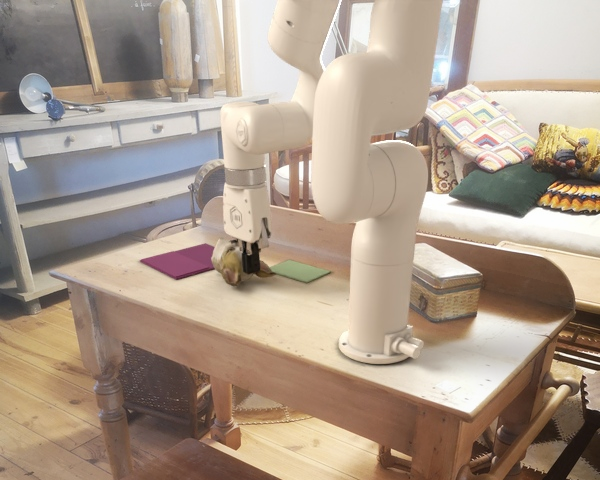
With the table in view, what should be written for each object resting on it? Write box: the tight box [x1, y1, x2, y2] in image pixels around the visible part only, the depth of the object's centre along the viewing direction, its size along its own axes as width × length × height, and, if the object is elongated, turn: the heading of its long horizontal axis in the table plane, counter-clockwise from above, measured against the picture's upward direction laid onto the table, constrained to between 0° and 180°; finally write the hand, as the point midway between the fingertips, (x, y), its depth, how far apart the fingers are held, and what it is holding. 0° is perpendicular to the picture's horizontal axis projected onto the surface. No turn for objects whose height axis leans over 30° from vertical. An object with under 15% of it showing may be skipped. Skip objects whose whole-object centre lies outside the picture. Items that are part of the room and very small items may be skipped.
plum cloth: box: [139, 243, 216, 280], centre depth 136 cm, size 16×18×1 cm
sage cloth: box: [269, 259, 331, 284], centre depth 129 cm, size 12×8×1 cm, turn 49°
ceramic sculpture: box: [211, 236, 277, 287], centre depth 124 cm, size 11×9×15 cm
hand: (251, 271), depth 120 cm, fingers closed
